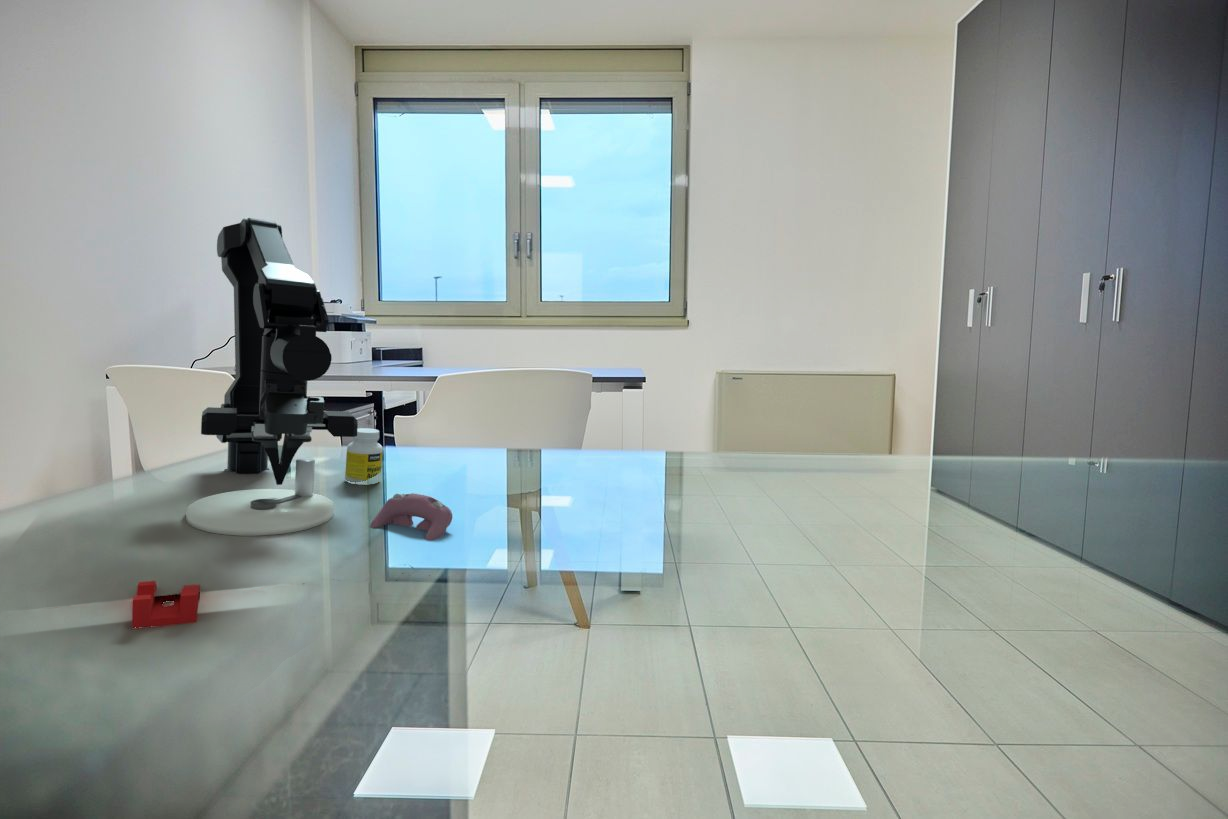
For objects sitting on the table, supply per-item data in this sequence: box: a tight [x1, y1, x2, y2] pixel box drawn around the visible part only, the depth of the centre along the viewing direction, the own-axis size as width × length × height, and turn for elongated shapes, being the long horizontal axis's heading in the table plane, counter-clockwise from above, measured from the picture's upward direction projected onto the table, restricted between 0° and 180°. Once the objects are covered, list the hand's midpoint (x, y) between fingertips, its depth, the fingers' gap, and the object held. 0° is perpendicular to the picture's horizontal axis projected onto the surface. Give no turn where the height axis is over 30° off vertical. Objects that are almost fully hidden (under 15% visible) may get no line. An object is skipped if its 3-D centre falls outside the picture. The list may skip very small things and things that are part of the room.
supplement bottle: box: [344, 427, 384, 483], centre depth 108 cm, size 5×5×10 cm
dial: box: [185, 457, 335, 537], centre depth 87 cm, size 17×17×6 cm
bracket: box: [131, 580, 201, 629], centre depth 63 cm, size 6×5×3 cm
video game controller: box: [369, 492, 453, 541], centre depth 89 cm, size 10×5×7 cm, turn 72°
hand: (279, 484), depth 93 cm, fingers closed
